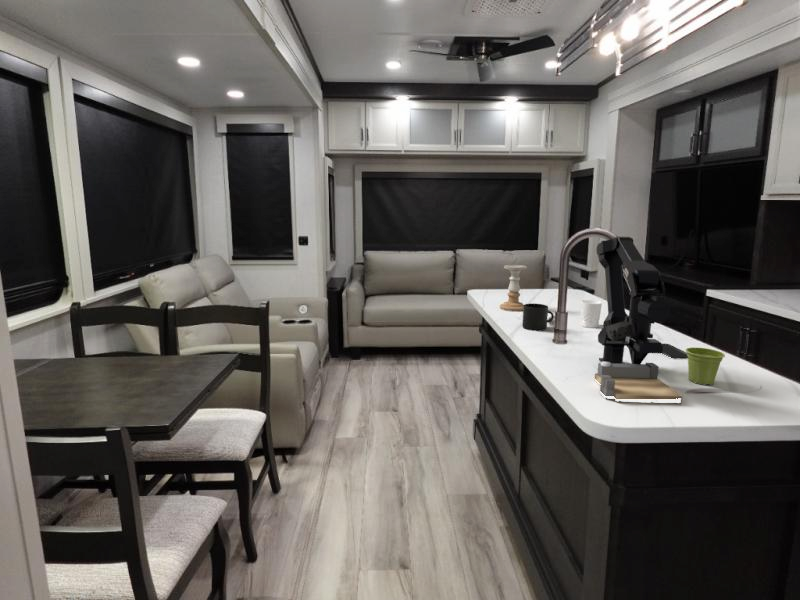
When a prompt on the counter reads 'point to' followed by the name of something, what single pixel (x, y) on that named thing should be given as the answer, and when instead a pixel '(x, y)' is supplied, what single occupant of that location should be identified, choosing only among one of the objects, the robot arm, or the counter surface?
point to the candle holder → (513, 289)
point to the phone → (673, 352)
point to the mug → (536, 316)
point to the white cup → (590, 313)
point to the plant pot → (703, 364)
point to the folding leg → (628, 370)
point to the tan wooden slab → (635, 388)
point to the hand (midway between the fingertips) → (634, 368)
